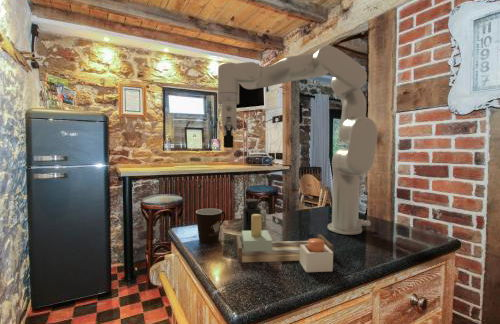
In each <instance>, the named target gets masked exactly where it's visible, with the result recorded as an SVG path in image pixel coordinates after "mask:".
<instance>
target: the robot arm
mask: <svg viewBox="0 0 500 324" xmlns="http://www.w3.org/2000/svg"><path fill="white" fill-rule="evenodd" d="M217 70H218V73H217V78H218V79H217V103H218V104H219V105H221V108H220V109H221V127H222V128H221V129H222V131H223V132H224V135H223V148H224V149H226V148H227V149H228V148H231V149H233V148H234V134H233V133H234V132H236V131H237V126H238V125H237V121H238V120H237V117H238V116H237V113H238V111H237V105H239V104H240V86H241V87H242V88H244V89H246V90H256V89H261V88H268V87H271V86H276V85H283V84H286V83H288V82H294V81H301V80H305V79H306V80H307V79H314V78H320V77H323V76H325V75H327V74H329V75H331V76H333V77H332V78H331V81H330V87H331V89H332V92H334V94H336V96H337V97H338V98H339V99H340V102H341V105H342V107H341V115H340V124H339V130H338V135H339V139H340V141H341V142H342V143H344V144H347V145H348V147H342V148H339V149H337V150H336V151H335V152H334V153H333V156H332V160H331V167H332V177H333V179H332V180H333V182H332V183H333V184H332V188H333V189H332V206H331V207H332V210H331V212H332V213H331V222H330V223H328V224H327V229H328V231H331V232H333V233H336V234H341V235H348V236H350V235H351V236H352V235H359V234H361V233H362V232H363V228H362V227H363V226H365V227H366V226H367V227H368V226H371V224H372V223H371V220H364V219H360V218H359V213H360V212H359V211H360V210H359V208H360V188H361V187H360V186H361V185H360V184H361V183H360V177H359V176H363V175H366V174H367V173H369V172H370V171H371V169H372V167H373V164H374V162H375V154H376V148H377V142H378V135H379V133H378V127H377V124H376V123H375V121H374V120H373V119H371V118H370V117H367V116H366V115H367V99H366V96H365V94H364V93H363V91H362V89H361V88H362V87H364V86H365V84H366V82H367V80H368V73H367V70H366V69H365V67H363V65H361V63H359V62H358V61H356V60H355V59H353V58H352V57H350V56H349V55H348V54H346V53H345V52H343V51H342V50H340V49H339V48H337V47H336V46H333V45H323V46H321V47H320V48H318V50H317V51H316V52H312V53H306V54H299V55H291V56H290V55H289V56H286V57H284V58H282V59H280V60H279V61H277V62H275V63H273V64H269V65H266V66H263V67H261V66H260V65H259V64H258V63H256V62H254V61H246V62H245V61H244V62H238V63H235V62H230V61H229V62H222V63H220V64H219V65H218V68H217Z"/></svg>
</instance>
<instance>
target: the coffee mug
mask: <svg viewBox="0 0 500 324" xmlns="http://www.w3.org/2000/svg"><path fill="white" fill-rule="evenodd" d="M222 214H223V219H222ZM195 216H196V226H197V234H198V235H197V236H198V242H199V243H200V244H204V245H213V244H216V243H218V242H219V239H220V238H219V237H220V233H221V232H220V230H221V226H222V225H223V224H224V222H225V220H226V212H225V211H223V210H222V209H220V208H219V209H218V208H210V207H209V208H201V209H197V210H196V211H195Z"/></svg>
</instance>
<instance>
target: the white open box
mask: <svg viewBox="0 0 500 324" xmlns="http://www.w3.org/2000/svg"><path fill="white" fill-rule="evenodd" d="M299 264H300V265H301V267H302V268H303V270H304V272H305V273H318V272H319V273H320V272H321V273H323V272H333V271H334V270H333V269H334V251H333V252H332V251H331V250H330V249H329V248H328V247H327V246H326V245H325V244H324V252H309V251H308V244H304V245H300V261H299Z"/></svg>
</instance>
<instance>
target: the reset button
mask: <svg viewBox="0 0 500 324" xmlns="http://www.w3.org/2000/svg"><path fill="white" fill-rule="evenodd" d="M307 241H308V251H309V252H324V241H323V240H321V239H318V238H309V239H308V240H307Z"/></svg>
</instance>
